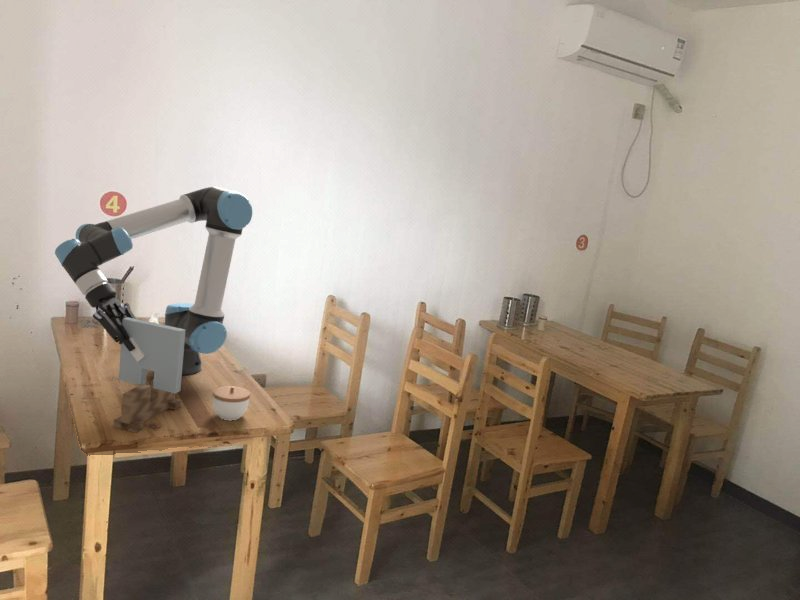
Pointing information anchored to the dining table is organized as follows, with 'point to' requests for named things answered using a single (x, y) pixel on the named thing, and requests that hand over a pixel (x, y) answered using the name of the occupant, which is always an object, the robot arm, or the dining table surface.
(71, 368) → the dining table surface
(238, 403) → the lidded jar
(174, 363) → the slotted plate
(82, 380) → the dining table surface
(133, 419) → the walnut board
